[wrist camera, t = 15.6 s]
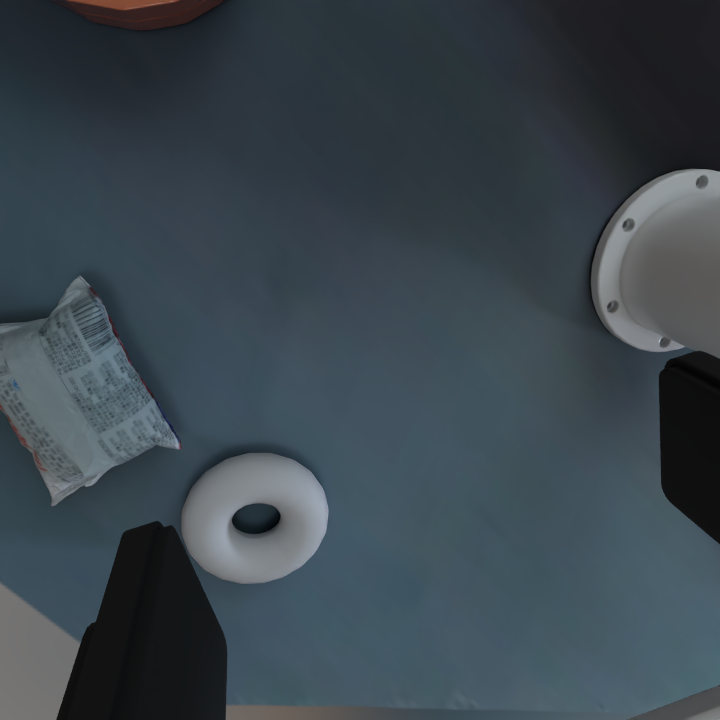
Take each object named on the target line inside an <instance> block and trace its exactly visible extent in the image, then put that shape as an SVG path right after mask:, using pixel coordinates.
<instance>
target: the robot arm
mask: <svg viewBox="0 0 720 720" xmlns="http://www.w3.org/2000/svg"><path fill="white" fill-rule="evenodd" d="M591 291H592V299H593V302H594V306H595V309H596V312H597V314H598V316H599V318H600V320H601V321H602V323H603V325H604V326H605V327H606V328H607V329H608V330H609V331H610V332H611V333H612V335H614V336H615V337H617V338H618V339H620V340H621V341H623V342H625V343H627V344H629V345H631V346H633V347H635V348H637V349H641V350H646V351H650V352H666V351H671V350H676V349H681V348H683V347H688V348H690V349H692V350H694V351H695V352H692V353H689V354H686V355H682V356H679V357H676V358H673V359H670V360H669V361H667V363H666V365H665V369H663V370H662V371H661V372H660V374H659V404H660V449H661V485H662V489H663V492H664V494H665V496H666V497H667V499H668V500H669V501H670V502H671V503H672V504H673V505H674V506H675V507H676V508H677V509H679V510H680V511H681V512H682V513H683V514H685V515H686V516H687V517H688V518H689V519H691V520H692V521H693V522H694V523H695V524H696V525H698V526H699V527H700V528H701V529H702V530H704V531H705V532H706V533H707V534H708V535H709V536H711V537H712V538H713V539H714V540H715V541H717V542H718V543H719V544H720V172H718V171H713V170H708V169H686V170H679V171H674V172H671V173H668V174H665V175H663V176H660V177H657V178H656V179H654V180H652V181H651V182H649V183H647V184H645V185H644V186H642V187H641V188H640V189H639V190H637V191H636V192H635V193H634V194H633V195H631V196H630V197H629V198H628V199H627V200H626V201H625V202H624V203H623V204H622V206H621V207H620V208H619V209H618V210H617V211H616V212H615V214H614V215H613V217H612V218H611V220H610V222H609V223H608V225H607V226H606V228H605V230H604V232H603V234H602V236H601V239H600V241H599V243H598V245H597V248H596V252H595V256H594V260H593V263H592V272H591ZM226 682H227V646H226V640H225V637H224V633H223V631H222V629H221V627H220V624H219V622H218V620H217V618H216V616H215V614H214V611H213V609H212V607H211V605H210V603H209V601H208V598H207V596H206V594H205V592H204V590H203V588H202V586H201V583H200V581H199V579H198V577H197V575H196V573H195V570H194V568H193V566H192V564H191V562H190V560H189V557H188V555H187V553H186V551H185V549H184V547H183V545H182V542H181V540H180V538H179V536H178V534H177V532H176V530H175V528H174V527H173V526H171V525H170V526H167V527H163V525H162V524H161V523H160V522H158V521H155V522H152V523H149V524H146V525H142V526H139V527H136V528H133V529H130V530H127V531H125V532H124V533H123V535H122V538H121V541H120V544H119V547H118V551H117V554H116V557H115V561H114V564H113V567H112V571H111V574H110V577H109V581H108V584H107V587H106V590H105V594H104V597H103V600H102V604H101V607H100V610H99V614H98V617H97V620H96V622H94V623H92V624H91V625H90V626H89V627H87V629H86V631H85V633H84V635H83V638H82V641H81V644H80V647H79V650H78V654H77V657H76V660H75V663H74V666H73V669H72V673H71V676H70V679H69V682H68V685H67V688H66V691H65V694H64V697H63V701H62V704H61V707H60V710H59V713H58V716H57V720H225V719H226V718H225V717H226ZM628 720H720V685H719V686H716V687H714V688H711V689H708V690H705V691H703V692H700V693H697V694H695V695H692V696H689V697H687V698H684V699H681V700H679V701H676V702H673V703H671V704H668V705H665V706H663V707H660V708H657V709H655V710H652V711H649V712H647V713H644V714H641V715H639V716H636V717H634V718H631V719H628Z"/></svg>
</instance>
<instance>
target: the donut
mask: <svg viewBox="0 0 720 720" xmlns="http://www.w3.org/2000/svg"><path fill="white" fill-rule="evenodd" d="M254 503H264V504H268V505H272V506H274V507H275V508H277V510H278V511H279V512H280V514H281V519H280V521H279V523H278V524H277V525H276V526H275V527H274V528H272V529H270V530H269V531H267V532H263V533H259V534H249V533H245V532H241V531H240V530H238V529H236V528H235V527H234V525H233V524H232V517H233V515H234V514H235V512H236V511H237V510H239V509H240V508H242V507H244V506H246V505H250V504H254ZM328 511H329V509H328V505H327V501H326V497H325V493H324V490H323V488H322V486H321V485H320V484H319V482H318V481H317V479H316V478H315V477H314V475H313V474H312V473H311V471H309V470H308V469H306V468H305V467H304V466H302V465H301V464H299V463H298V462H296V461H295V460H293V459H290V458H286V457H283V456H280V455H276V454H273V453H246V454H243V455H239V456H235V457H231V458H228V459H226V460H224V461H222V462H221V463H219V464H217V465H216V466H214V467H212V468H211V469H209V470H207V471H206V472H205V473H204V474H203V475H202V476H201V477H200V478H199V480H198V481H197V482H196V483H195V484H194V485H193V486H192V487H191V490H190V492H189V494H188V497H187V499H186V501H185V504H184V506H183V508H182V518H181V532H182V537H183V539H184V542H185V544H186V547H187V549H188V552H189V554H190V555H191V556H192V557H193V558H194V559H195V560H196V561H197V562H198V563H199V565H200V566H201V567H202V568H203V569H204V570H206V571H208V572H209V573H211V574H213V575H215V576H217V577H219V578H220V579H223V580H227V581H232V582H237V583H241V584H247V583H265V582H268V581H271V580H275V579H278V578H282V577H284V576H286V575H288V574H290V573H291V572H293V571H295V570H296V569H298V568H300V567H301V566H303V564H304V563H305V562H306V561H307V560H308V559H309V558H310V557H311V556H312V555H313V554H314V553H315V552H316V550H317V549H318V547H319V545H320V543H321V541H322V539H323V537H324V535H325V533H326V529H327V521H328Z"/></svg>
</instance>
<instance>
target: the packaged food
mask: <svg viewBox="0 0 720 720" xmlns="http://www.w3.org/2000/svg"><path fill="white" fill-rule="evenodd" d="M0 410H1V411H3V412H4V414H5V415H6V416H7V417H8V421H9V423H10V425H11V427H12V429H13V430H14V432H15V433H16V434H17V436H18V438H19V440H20V443H21V445H23V446H25V447H26V448H27V449H28V450H29V451H30V452H31V453H32V454H33V459H34V462H35V464H36V466H37V468H38V470H39V472H40V474H41V476H42V478H43V480H44V482H45V484H46V486H47V488H48V490H49V491H50V494H51V497H52V504H51V506H54V505H56V504H57V503H59V502H60V501H61V500H62V499H64V498H65V497H66V496H68V495H70V494H72V493H73V492H75V491H76V490H77V489H78V488H79V487H81V486H84V485H85V487H88V486H92V485H93V484H94V483H96V482H97V480H98V479H99V478H100V477H101V476H102V475H103V474H104V473H106V472H107V471H108V470H109V469H110V468H112V467H113V466H116V465H120V464H123V463H125V462H127V461H129V460H131V459H133V458H135V457H136V456H138V455H140V454H142V453H143V452H145V451H147V450H148V449H150V448H152V447H154V446H156V445H158V446H162V447H166V448H173V449H181V448H182V446H181V441H180V439H179V437H178V436H177V435H176V432H175V431H174V429H173V426H172V425H171V424H170V422H169V421H168V419H167V418H166V415H165V413H164V411H163V410H162V408H161V406H160V404H159V403H158V401H157V400H156V398H155V397H154V395H153V394H152V392H151V391H150V389H149V388H148V387H146V384H145V382H144V381H143V380H142V378H141V377H140V375H139V374H138V371H137V370H136V369H135V368H134V367H133V366H132V364H131V361H130V358H129V356H128V353H127V351H126V350H125V349H124V346H123V344H122V343H121V341H120V339H119V335H118V333H117V332H116V329H115V326H114V323H113V322H112V320H111V318H110V316H108V314H107V311H106V308H105V306H104V305H103V303H102V301H101V299H100V298H99V297H98V295H97V293H96V292H95V291H94V289H93V288H92V286H91V285H89V284H88V283H87V282H86V281H85V280H84V279H83V278H82V277H81V276H79V277H78V278H77V279H75V280H74V281H72V282H71V284H70V285H69V286H68V288H67V289H66V290H65V293H64V295H63V296H62V298H61V299H60V301H59V302H58V306H57V307H56V308H55V309H54V310H53V311H52V313H51V314H50V316H49V317H48V318H45V319H38V320H34V321H29V322H19V323H5V324H0ZM73 487H74V488H73Z"/></svg>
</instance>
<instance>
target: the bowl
mask: <svg viewBox="0 0 720 720" xmlns="http://www.w3.org/2000/svg"><path fill="white" fill-rule="evenodd" d="M51 1H53V2H55V3H56V4H58V5H60V6H62V7H64V8H66V9H68V10H70V11H72V12H74V13H76V14H78V15H80V16H82V17H84V18H86V19H88V20H90V21H92V22H95V23H99V24H105V25H111V26H116V27H122V28H128V29H134V30H139V31H141V30H142V31H145V30H151V29H157V28H162V27H168V26H174V25H180V24H186V22H187V23H188V22H190V21H192V20H193V19H195V18H197V17H198V16H200V15H202V14H203V13H205V12H207V11H208V10H210V9H212V8H213V7H215V6H217V5H218V4H220V3H222V2H223V1H224V0H51Z"/></svg>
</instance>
